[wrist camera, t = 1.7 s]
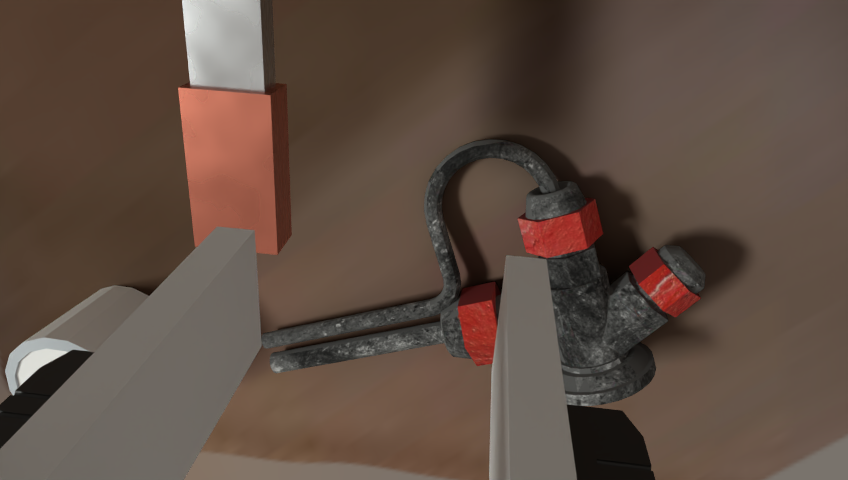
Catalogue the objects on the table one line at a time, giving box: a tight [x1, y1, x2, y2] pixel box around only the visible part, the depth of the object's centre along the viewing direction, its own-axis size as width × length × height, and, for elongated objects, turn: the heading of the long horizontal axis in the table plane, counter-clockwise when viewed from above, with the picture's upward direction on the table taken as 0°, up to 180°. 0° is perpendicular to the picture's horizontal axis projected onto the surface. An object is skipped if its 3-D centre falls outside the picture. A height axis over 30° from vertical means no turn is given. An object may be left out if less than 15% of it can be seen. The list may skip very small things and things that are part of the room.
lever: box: [178, 0, 292, 255], centre depth 22 cm, size 16×4×2 cm, turn 177°
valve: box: [261, 139, 705, 406], centre depth 37 cm, size 6×26×15 cm
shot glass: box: [5, 285, 149, 396], centre depth 39 cm, size 7×7×7 cm
